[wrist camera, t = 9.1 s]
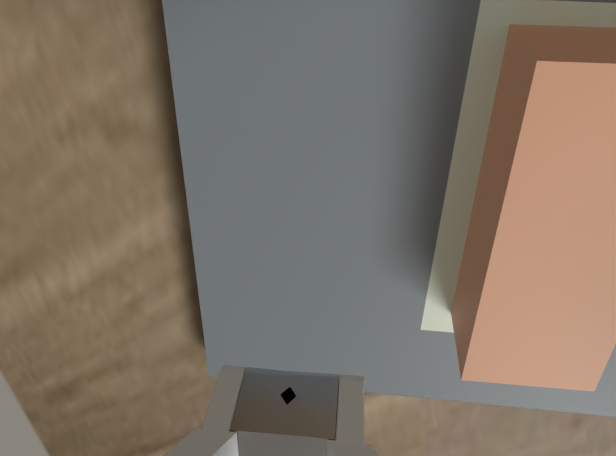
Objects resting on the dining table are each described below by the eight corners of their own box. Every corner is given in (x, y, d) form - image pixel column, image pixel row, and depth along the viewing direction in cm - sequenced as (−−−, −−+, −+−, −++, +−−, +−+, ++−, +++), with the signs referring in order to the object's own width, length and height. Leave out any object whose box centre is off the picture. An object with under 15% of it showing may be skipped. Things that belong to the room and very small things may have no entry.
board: (698, 401, 22) (713, 426, 21) (215, 355, 24) (208, 377, 23) (1069, -179, 12) (1133, -182, 11) (155, -193, 13) (137, -197, 12)
